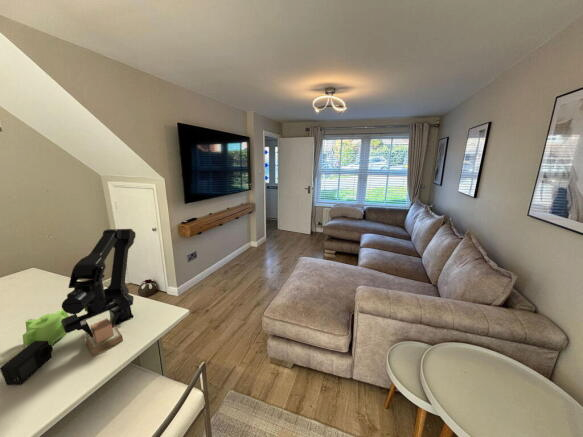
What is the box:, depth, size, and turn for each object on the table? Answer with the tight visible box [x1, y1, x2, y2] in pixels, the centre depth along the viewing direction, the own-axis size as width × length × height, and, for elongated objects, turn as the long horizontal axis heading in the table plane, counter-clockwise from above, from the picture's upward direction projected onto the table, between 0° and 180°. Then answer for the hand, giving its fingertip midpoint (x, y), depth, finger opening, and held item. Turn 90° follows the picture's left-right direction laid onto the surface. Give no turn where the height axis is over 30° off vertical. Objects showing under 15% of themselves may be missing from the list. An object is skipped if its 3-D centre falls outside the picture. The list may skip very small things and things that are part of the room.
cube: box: [89, 318, 114, 343], centre depth 87 cm, size 5×5×5 cm
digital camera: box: [0, 341, 53, 386], centre depth 76 cm, size 10×5×7 cm, turn 2°
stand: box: [84, 324, 124, 357], centre depth 88 cm, size 9×9×3 cm
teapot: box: [22, 308, 69, 347], centre depth 88 cm, size 12×12×10 cm
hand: (102, 331), depth 88 cm, fingers open, 6 cm apart
